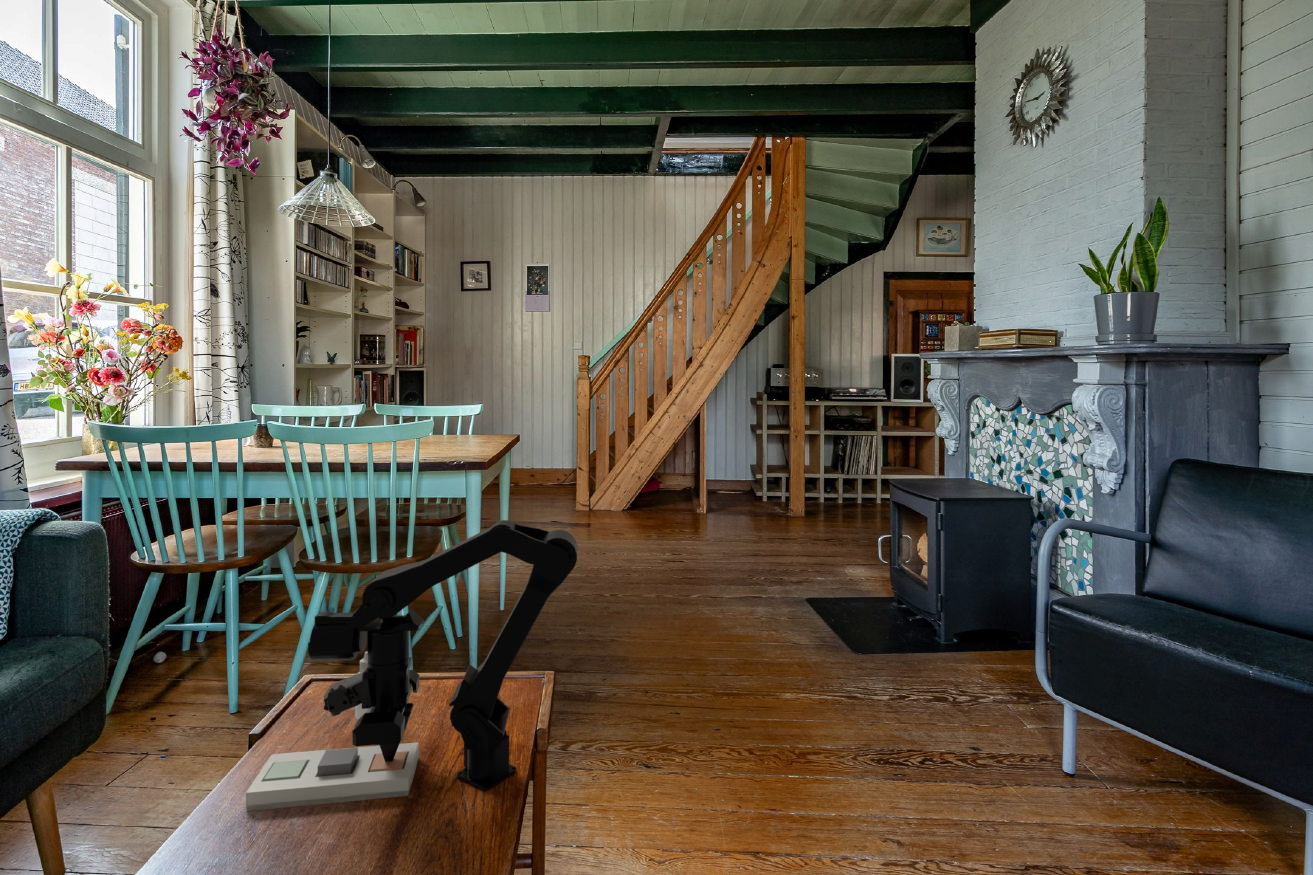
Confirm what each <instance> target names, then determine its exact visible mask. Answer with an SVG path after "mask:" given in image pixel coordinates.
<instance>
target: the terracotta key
mask: <svg viewBox="0 0 1313 875" xmlns="http://www.w3.org/2000/svg"><path fill="white" fill-rule="evenodd" d="M406 761H407V751H405V752H396V754H395V757H394V759H393V761H391V762H385V760H384V757H383V754H382V753H381V754H376V756H375V758H374V761H373V763H372V766H371V769H370V772H378V771H389V770H400V769H404V767H405V764H406Z"/></svg>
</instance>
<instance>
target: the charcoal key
mask: <svg viewBox="0 0 1313 875" xmlns="http://www.w3.org/2000/svg"><path fill="white" fill-rule="evenodd" d="M333 749H334V750H332V749H325V750H326V751H325V753H324V755H323V757H322V759H321V761H320V763H319V764H318V777H321V776H332V775H343V774H352V773H353V771H354V768H355V766H356V764H357V761H358V748H356V747H347V748H346V749H344V748H333Z"/></svg>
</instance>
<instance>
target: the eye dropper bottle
mask: <svg viewBox="0 0 1313 875" xmlns="http://www.w3.org/2000/svg"><path fill="white" fill-rule="evenodd" d="M367 665H368V651H364V655H363V658H362V659H360V660H359V671H358V672H357V673H356V674H359V673H363V672H364V671H366V669H367ZM371 708H372V707H371ZM371 708H367V709H362V703H361V704H359V705H357V706H355V707H354V716H355V720H356V722H357V721H358V719H359V718H360V717H361V716H362V715H363V714H364V713H369V712H370V710H371Z"/></svg>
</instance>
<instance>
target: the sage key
mask: <svg viewBox="0 0 1313 875" xmlns="http://www.w3.org/2000/svg"><path fill="white" fill-rule="evenodd" d="M306 766H307V759H306V760H294V761H282V762H275V763H274V764H273V766H272V767H271V769H270V770H269V772H268V773H267V775H266V776H265V778H264V781H275V780H287V779H298V778H300V777H301V775H302V773H303V771H304V770H305V768H306Z"/></svg>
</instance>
